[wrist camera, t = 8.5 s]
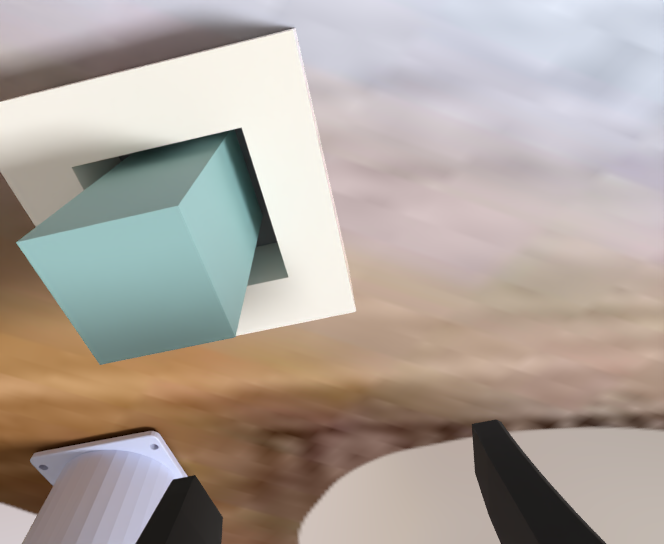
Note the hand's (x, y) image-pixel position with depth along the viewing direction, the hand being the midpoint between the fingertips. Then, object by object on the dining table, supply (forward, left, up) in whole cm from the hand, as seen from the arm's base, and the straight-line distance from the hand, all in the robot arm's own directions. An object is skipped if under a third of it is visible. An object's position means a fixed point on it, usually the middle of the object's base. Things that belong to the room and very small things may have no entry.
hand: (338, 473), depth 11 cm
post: (+5, +4, -10) cm, 12 cm away
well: (+5, +4, -10) cm, 12 cm away
